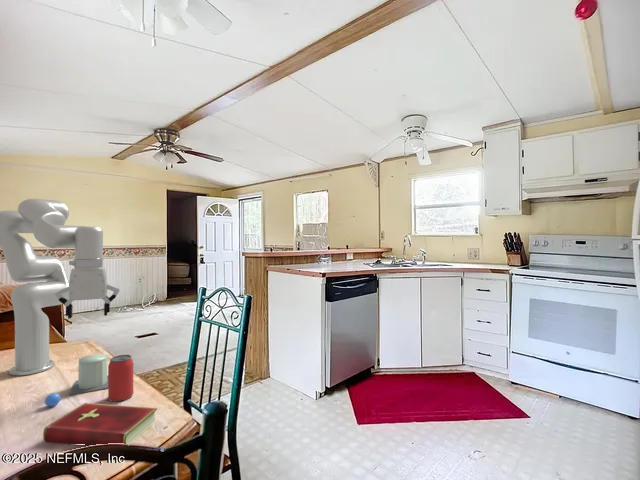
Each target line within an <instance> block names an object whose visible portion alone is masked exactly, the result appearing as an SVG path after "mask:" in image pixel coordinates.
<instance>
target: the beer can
mask: <svg viewBox="0 0 640 480" xmlns="http://www.w3.org/2000/svg"><path fill="white" fill-rule="evenodd" d="M132 358H133V357H132V355H131V354H120V355H116V356H113V357H111V358H110V361H109V363H108V365H107V376H108V391H107V392H108V393H107V395H108V396H107V398H108V401H111V402H115V403H116V402H121V401H122V400H123V401H125V399H126V400H127V399H130V398H131V397H132V396H133V395H134V362H133V361H134V360H133V359H132Z"/></svg>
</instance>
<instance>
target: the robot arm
mask: <svg viewBox="0 0 640 480" xmlns="http://www.w3.org/2000/svg"><path fill="white" fill-rule="evenodd" d="M69 215H70V210H69V208H68V206H67V205H66V203H65V202H62V201H60V200H54V199H53V200H52V199H45V198H44V199H42V198H41V199H40V198H27V199H24V200H23V201H21V202H20V203H19V204H18V206H17V210H13V209H11V210H2V211H1V210H0V249H1V251H2V253H3V257H4V260H5V262H6V263H5V264H6V267H7V270H8V273H9V276H10V278H11V279H12V280H13V281H14V282H16V283H24V284H20V285H18V286H16V287H15V288H14V289H13V290H12V292H11V294H10V299H11V304H12V308H13V309H12V310H13V315H14V366H12V367H11V368H9V370H8V374H9V375H11V376H17V377H18V376H28V375H34V374H38V373H41V372H45V371H47V370H49V369H51V368H53V367H54V366H55V361H54V360H52V359H50V319H49V316H48V315H47V314H46V313H45V312H43V310H42V308H46V307H47V308H48V307H55V306H60V305H64V307H65V316H66V317H67V319H68V320H69V319H72V317H73V309H74V307H73V304H72V303H73V302H74V301H86V300H100V299H101V300H102V301H104V304H103V306H104V307H103V315H104V316H105V317H106V316H107V315H108V313H110V312H111V311H110V310H111V309H110V306H111V305H110V304H111V302H112V301H113V300H114V299H116V297H117V295H118V294H119V292H120V288H117V287H115V286H113V285H111V284H110V285H109V284H108V278H107V271H106V267H104V266H103V265H104V264H103V263H104V262H103V260H104V258H103V254H104V247H103V246H104V230H103V228H102V227H100V226H89V225H88V226H85V225H66V221H67V220H68V218H69ZM20 234H32V235H33V236H34V238H35V240H36V241H37V242H39V243H40V244H42V246H45V247H46V248H50V249H74V259H73V260H69V262H68V266H73V267H74V268H71V270H70V275H69V279H68V276H67V273H66V269H65V267H64V264H63V262H62V260H60V258H58V257H57V256H52V255H40V256H39V255H36V253H35V251H34V247H33V245H32V244H31V242H29V241H28V240H27V239H26V238H24V237H23V236H22V235H20ZM108 290H109V291H111V292H113V293H112V295H110V296H108V295H107V294H108Z"/></svg>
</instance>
